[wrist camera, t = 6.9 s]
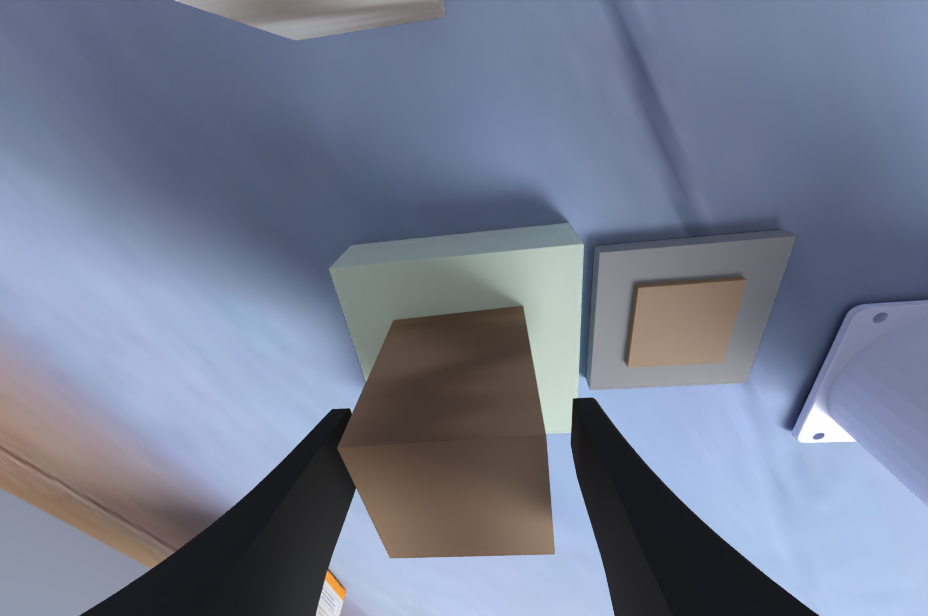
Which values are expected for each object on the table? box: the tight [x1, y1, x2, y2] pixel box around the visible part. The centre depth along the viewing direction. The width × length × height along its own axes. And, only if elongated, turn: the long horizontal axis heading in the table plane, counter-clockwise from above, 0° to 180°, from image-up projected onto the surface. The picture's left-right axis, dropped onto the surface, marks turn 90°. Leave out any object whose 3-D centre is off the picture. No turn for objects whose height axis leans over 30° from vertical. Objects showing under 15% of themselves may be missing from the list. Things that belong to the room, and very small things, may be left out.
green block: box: [329, 223, 584, 434], centre depth 16 cm, size 9×9×3 cm
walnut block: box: [337, 306, 555, 558], centre depth 12 cm, size 5×5×6 cm
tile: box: [586, 229, 797, 390], centre depth 15 cm, size 7×7×1 cm
